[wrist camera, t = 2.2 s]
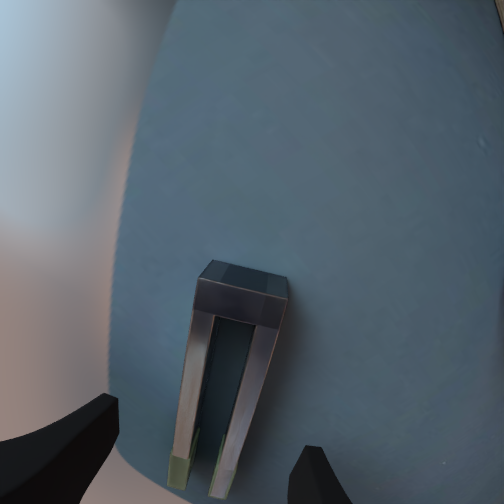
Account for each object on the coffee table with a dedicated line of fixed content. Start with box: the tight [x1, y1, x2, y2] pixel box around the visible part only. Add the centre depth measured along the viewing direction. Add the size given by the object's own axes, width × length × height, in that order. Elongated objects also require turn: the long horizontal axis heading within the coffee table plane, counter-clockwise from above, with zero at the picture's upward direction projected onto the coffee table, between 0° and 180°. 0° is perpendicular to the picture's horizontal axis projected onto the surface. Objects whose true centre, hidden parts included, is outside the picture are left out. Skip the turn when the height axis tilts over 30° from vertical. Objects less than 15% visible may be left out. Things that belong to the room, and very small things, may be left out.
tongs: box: [167, 260, 289, 500], centre depth 13 cm, size 12×3×2 cm, turn 167°
